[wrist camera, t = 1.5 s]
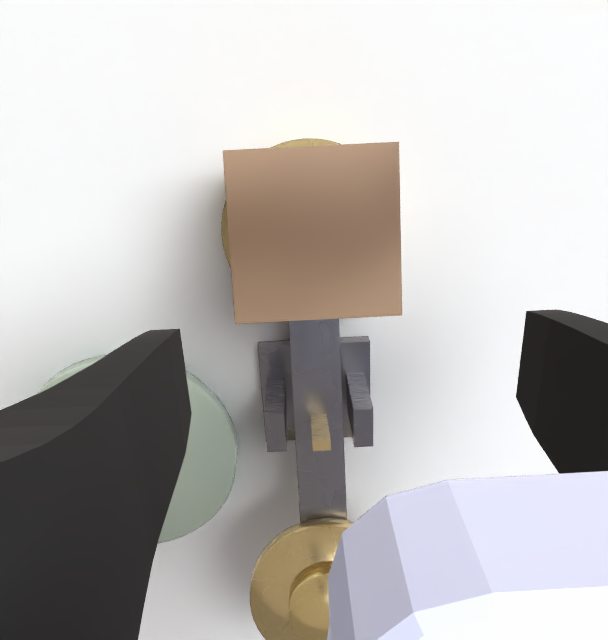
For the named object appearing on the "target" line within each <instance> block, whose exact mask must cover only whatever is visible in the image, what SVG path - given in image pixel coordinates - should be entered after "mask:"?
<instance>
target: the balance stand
mask: <svg viewBox="0 0 608 640" xmlns="http://www.w3.org/2000/svg"><path fill="white" fill-rule="evenodd" d="M339 339H340V363H341V388H342V412H343V437H352V438H353V444H354V447H367V446H373V407H372V403H371V399H370V340H369V337H368V336H362V337H343V338H339ZM258 353H259V365H260V376H261V388H262V399H263V411H264V422H265V434H266V441H267V450H268V452H276V451H287V440H296V437H295V419H294V402H293V384H292V367H291V349H290V340H287V341H269V342H259V343H258Z"/></svg>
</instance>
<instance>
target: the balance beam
mask: <svg viewBox="0 0 608 640" xmlns="http://www.w3.org/2000/svg"><path fill="white" fill-rule="evenodd" d="M325 145H341V144H339V143H335V142H332V141H328V140H322V139H298V140H292V141H288V142H284V143H281V144H278V145H276V146H274V147H271V148H285V147H305V146H325ZM222 240H223V247H224V250H225V254H226V258H227V260H228V262H229V265H230V267H231V258H230V244H229V230H228V216H227V202H225V206H224V210H223V216H222ZM289 332H290V349H291V367H292V384H293V402H294V419H295V437H296V455H297V472H298V490H299V507H300V523H299V524H296V525H294V526H292V527H290V528H288V529H286V530H284V531H283V532H281V533H280V534H279V535H277V536H276V537H275V538H274V539H273V540H272V541H271V542H270V543H269V544H268V545H267V546H266V547H265V548H264V550H263V551H262V553H261V554H260V556H259V558H258V560H257V562H256V564H255V567H254V570H253V574H252V580H251V588H250V606H251V612H252V616H253V619H254V621H255V624H256V626H257V628H258V630H259V631H260V633H261V634H262V636H263V637H264V638H265V639H266V640H300V639H299V638H298V637H297V636H296V634H295V633H294V631H293V630H292V627H291V625H290V622H289V591H290V587H291V584H292V582H293V580H294V579H295V577H296V576H297V575H298V574H299V573H300V572H301V571H302V570H303V569H305V568H306V567H308V566H310V565H312V564H315V563H318V562H323V561H333V559H334V556H335V553H336V550H337V547H338V544H339V541H340V538H341V534H342V532H344V531H345V530H346V529H347V528H348V527H350V526H351V525H352V524H353V523H354V522H352V521H348V520H347V510H346V486H345V461H344V437H343V412H342V388H341V363H340V339H339V319H320V320H301V321H289Z"/></svg>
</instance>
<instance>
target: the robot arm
mask: <svg viewBox="0 0 608 640" xmlns="http://www.w3.org/2000/svg"><path fill="white" fill-rule="evenodd" d="M516 398H517V400H518V402H519V405H520V407H521V409H522V411H523V414H524V416H525V418H526V420H527V422H528V424H529V426H530V428H531V430H532V433H533V434H534V436H535V438H536V439H537V441H538V442H539V444H540V445H541V447H542V448H543V450H544V451H545V453H546V454H547V456H548V457H549V459H550V460H551V462H552V463H553V465H554V466H555V468H556V469H557V471H558V472H559V474H545V475H527V476H509V477H490V478H472V479H453V480H445V481H441V482H437V483H433V484H430V485H426V486H422V487H418V488H415V489H411V490H407V491H403V492H400V493H396V494H392V495H389V496H385V497H384V498H383V499H382V500H381V501H379V502H378V503H377V504H376V505H375V506H373V507H372V508H371V509H370V510H369V511H367V512H366V513H365V514H364V515H363V516H362V517H360V518H359V519H358V520H357V521H356V522H354V523H353V524H352V525H351V526H350V527H348V528H347V529H346V530H345V531H344V532H342V534H341V538H340V541H339V544H338V547H337V550H336V553H335V556H334V559H333V563H332V566H331V569H330V572H329V575H328V598H329V629H328V636H327V640H608V323H605V322H602V321H599V320H596V319H593V318H590V317H586V316H583V315H579V314H576V313H572V312H567V311H562V310H539V311H526V319H525V327H524V336H523V344H522V352H521V360H520V368H519V377H518V385H517V393H516ZM191 415H192V412H191V405H190V398H189V391H188V384H187V377H186V370H185V363H184V356H183V349H182V342H181V335H180V329H169V330H150V331H148V332H145V333H143V334H141V335H139V336H137V337H135V338H134V339H132V340H130V341H129V342H127V343H126V344H124V345H122V346H121V347H119V348H118V349H116V350H114V351H113V352H111V353H109V354H108V355H106V356H105V357H103V358H101V359H100V360H98V361H97V362H95V363H93V364H92V365H90V366H88V367H86V368H85V369H83V370H81V371H79V372H78V373H76V374H74V375H72V376H70V377H69V378H67V379H65V380H63V381H62V382H60V383H58V384H56V385H54V386H52V387H51V388H49V389H47V390H45V391H43V392H40V393H38V394H36V395H34V396H32V397H30V398H28V399H25V400H23V401H21V402H19V403H16V404H14V405H12V406H10V407H7V408H5V409H2V410H0V640H138V635H139V630H140V624H141V618H142V613H143V607H144V602H145V597H146V592H147V587H148V582H149V577H150V572H151V567H152V562H153V558H154V554H155V551H156V547H157V543H158V540H159V536H160V533H161V530H162V527H163V524H164V521H165V518H166V514H167V511H168V508H169V505H170V502H171V499H172V496H173V492H174V489H175V486H176V483H177V480H178V477H179V473H180V470H181V467H182V464H183V460H184V457H185V453H186V448H187V442H188V436H189V429H190V422H191Z"/></svg>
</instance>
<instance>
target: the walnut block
mask: <svg viewBox="0 0 608 640" xmlns="http://www.w3.org/2000/svg"><path fill="white" fill-rule="evenodd" d="M223 161H224V175H225V189H226V202H227V216H228V230H229V244H230V258H231V272H232V286H233V299H234V313H235V324H242V323H262V322H281V321H301V320H320V319H339V318H359V317H378V316H398V315H402V284H401V230H400V176H399V142H387V143H366V144H346V145H325V146H305V147H285V148H264V149H244V150H223Z"/></svg>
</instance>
